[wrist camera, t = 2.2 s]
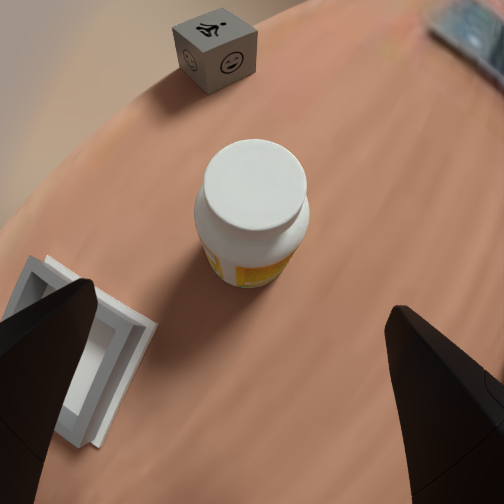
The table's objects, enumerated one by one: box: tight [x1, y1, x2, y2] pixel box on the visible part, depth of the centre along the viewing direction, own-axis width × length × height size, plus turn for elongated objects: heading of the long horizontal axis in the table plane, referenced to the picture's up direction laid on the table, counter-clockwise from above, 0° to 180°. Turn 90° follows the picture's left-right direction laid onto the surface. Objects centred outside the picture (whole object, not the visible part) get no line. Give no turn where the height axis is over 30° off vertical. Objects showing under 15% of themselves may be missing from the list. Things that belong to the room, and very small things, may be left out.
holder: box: [1, 255, 159, 448], centre depth 17 cm, size 10×10×3 cm
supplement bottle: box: [194, 139, 309, 288], centre depth 17 cm, size 5×5×10 cm
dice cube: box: [172, 8, 258, 95], centre depth 23 cm, size 5×5×5 cm
